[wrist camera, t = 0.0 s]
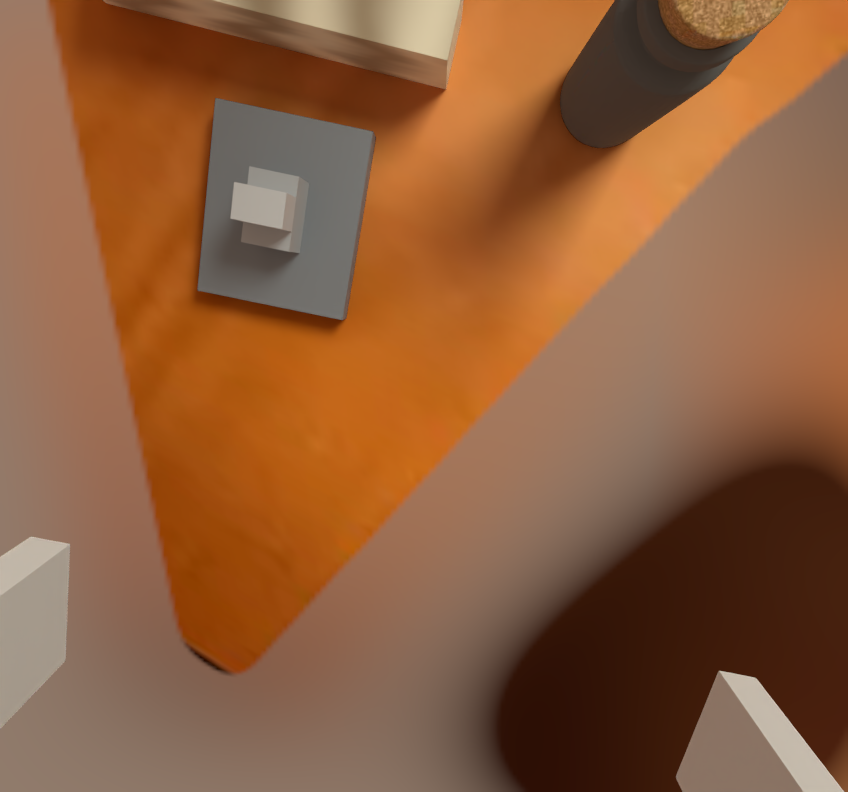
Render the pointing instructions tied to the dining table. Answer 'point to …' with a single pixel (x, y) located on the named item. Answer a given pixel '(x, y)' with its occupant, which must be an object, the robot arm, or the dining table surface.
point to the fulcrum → (283, 208)
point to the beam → (335, 29)
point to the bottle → (654, 62)
